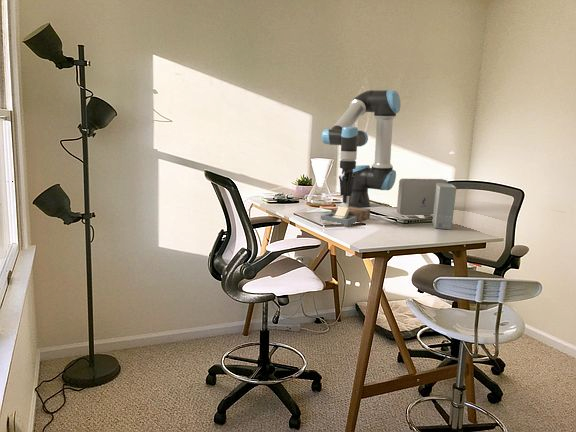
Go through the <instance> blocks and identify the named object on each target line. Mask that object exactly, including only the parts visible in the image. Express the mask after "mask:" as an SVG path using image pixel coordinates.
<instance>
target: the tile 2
mask: <svg viewBox="0 0 576 432" xmlns="http://www.w3.org/2000/svg"><path fill="white" fill-rule="evenodd" d="M337 208H338V209H337V212H336V214H335V216H341V217H345V219H346V218H347V216H348V213H349V209H348V208H346V207H342V206H337Z"/></svg>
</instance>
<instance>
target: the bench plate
mask: <svg viewBox="0 0 576 432" xmlns="http://www.w3.org/2000/svg"><path fill="white" fill-rule="evenodd" d="M337 209H338V207H335V208H333V209H330V210H331V212H330V213H336V212H337ZM348 209H349V213H348V215H349V216H356V217H357V222H360V223H363V222H365V221H368V220H370V219H371V218H370V217H371V208H366V207H352V206H349V207H348Z"/></svg>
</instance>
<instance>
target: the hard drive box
mask: <svg viewBox="0 0 576 432" xmlns="http://www.w3.org/2000/svg"><path fill="white" fill-rule="evenodd" d="M456 195H457V187H456V186H455V185H454V184H452V183H448V184H443V183H436V193H435V202H434V211H433V214H432V215H433V216H432V217H433V219H431V220H432V224H433V228H434V229H441V230H442V229H443V230H452V229H453V228H452V227H453V219H454V211H455V204H456Z"/></svg>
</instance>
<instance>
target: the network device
mask: <svg viewBox="0 0 576 432" xmlns="http://www.w3.org/2000/svg"><path fill="white" fill-rule="evenodd" d="M436 183H443V184H449V183H448V180H447V179H442V178H401V179H399V181H398V194H397V205H396V212H397V213H398V214H399V215H401V216H402V215H429V216H428V217H433V211H434V202H435V193H436Z"/></svg>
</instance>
